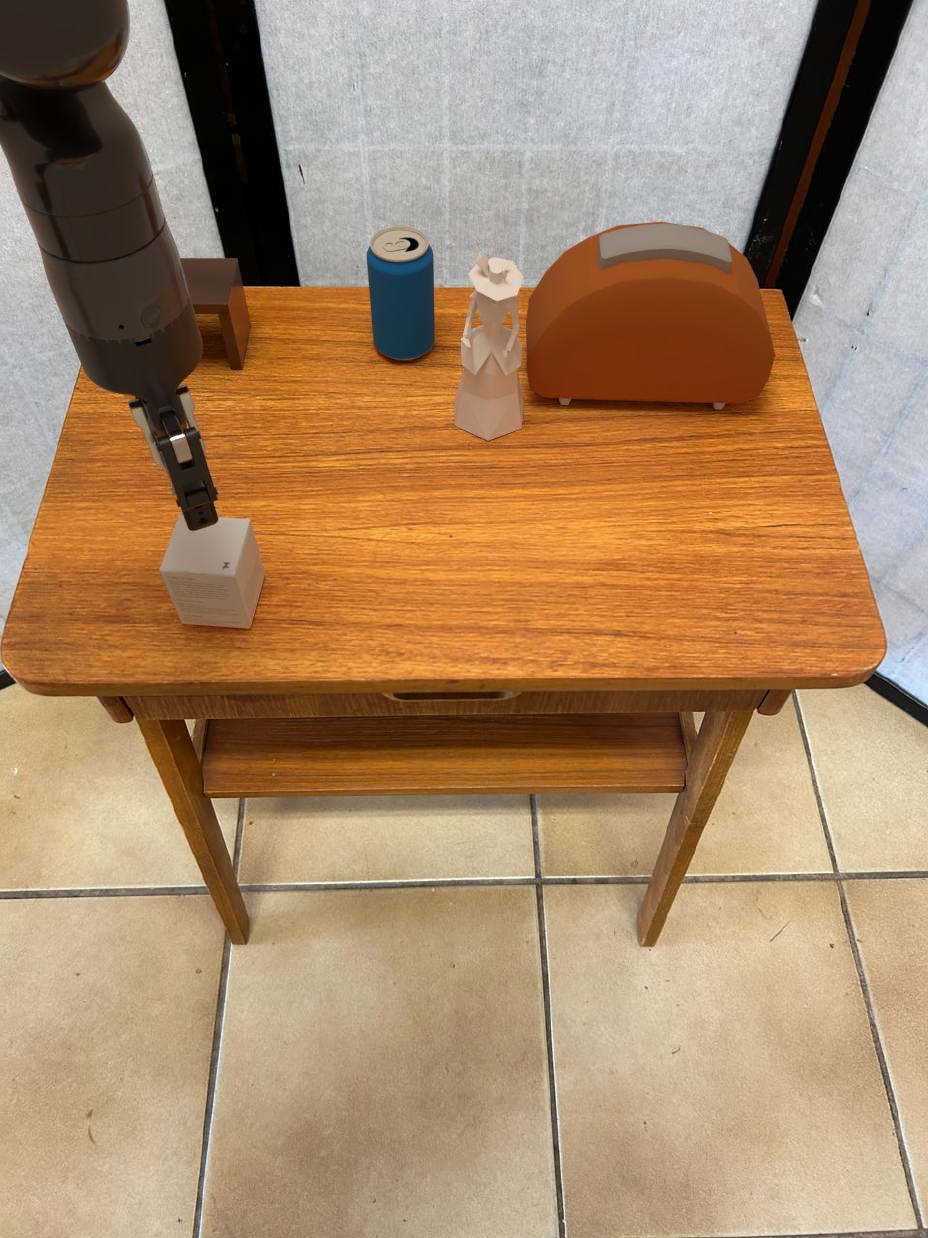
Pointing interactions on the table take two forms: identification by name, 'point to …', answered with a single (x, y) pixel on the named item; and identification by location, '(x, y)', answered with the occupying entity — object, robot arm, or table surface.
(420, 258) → the beverage can
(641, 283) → the orange toaster
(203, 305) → the shelf
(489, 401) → the figurine
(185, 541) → the product box
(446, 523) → the table surface
